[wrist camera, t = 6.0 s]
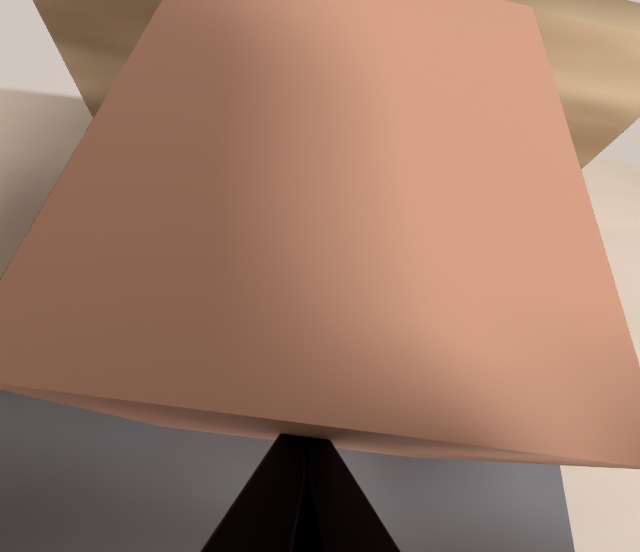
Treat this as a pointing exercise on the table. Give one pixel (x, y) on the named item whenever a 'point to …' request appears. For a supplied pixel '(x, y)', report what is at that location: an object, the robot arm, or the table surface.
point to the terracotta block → (332, 241)
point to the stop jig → (247, 452)
